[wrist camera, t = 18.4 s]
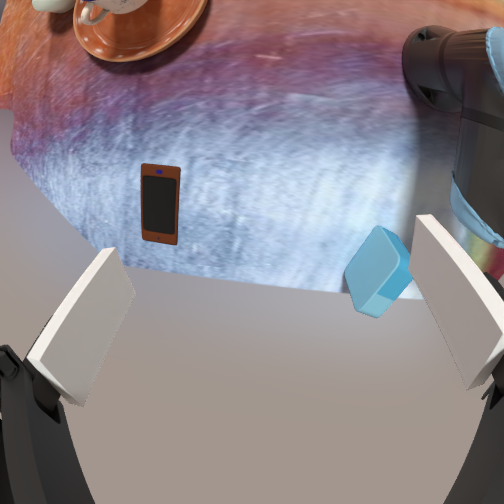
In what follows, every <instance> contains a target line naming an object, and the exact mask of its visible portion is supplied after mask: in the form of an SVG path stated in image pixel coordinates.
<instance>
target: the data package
mask: <svg viewBox="0 0 504 504" xmlns="http://www.w3.org/2000/svg"><path fill="white" fill-rule="evenodd" d="M409 261H410V254H409V252H408V250H407V249H406V247H405V246H404V244H403V243H402V242H401V240H400V239H399V237H398V236H397V235H396V234H394V233H392V232H391V231H389V230H387V229H385V228H383V227H382V226H376V227H375V228H374V229H373V230H372V232H371V233H370V235H369V236H368V238H367V239H366V241H365V242H364V243H363V245H362V246H361V248H360V249H359V251H358V252H357V253H356V255H355V256H354V258H353V259H352V260H351V262H350V263H349V264H348V266H347V268H346V270H345V278H346V282H347V285H348V288H349V291H350V295H351V298H352V301H353V304H354V308H355V310H356V311H358V312H360V313H363V314H366V315H369V316H371V317H374V318H379V317H380V316H381V315H382V314H383V313H384V312H385V311H386V310H387V309H388V308H389V306H390V305H391V304H392V303H393V302H394V301H395V300H396V298H397V297H398V296H399V295H400V294H401V293H402V291H403V290H404V289H405V288H406V287H407V285H408V284H409V283H410V282H411V281H412V279H413V277H412V275H411V274H410V272H409V270H408V267H409Z"/></svg>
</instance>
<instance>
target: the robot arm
mask: <svg viewBox="0 0 504 504" xmlns="http://www.w3.org/2000/svg"><path fill="white" fill-rule="evenodd" d="M402 63H403V69H404V73H405V76H406V78H407V81H408V83H409V85H410V87H411V88H412V90H413V91H414V93H415V94H416V95H417V96H418V97H419V98H420V99H421V100H422V101H423V102H424V103H426V104H427V105H429V106H430V107H432V108H434V109H437V110H441V111H444V112H451V113H453V112H460V111H461V119H460V129H459V137H458V145H457V152H456V158H455V164H454V170H453V171H452V175H451V178H452V185H451V192H450V204H451V206H452V209H453V212H454V214H455V215H456V217H457V218H458V219H459V221H460V222H461V223H462V224H463V225H464V226H465V227H466V228H467V229H468V230H470V231H471V232H472V233H473V234H475V235H476V236H477V237H479V238H480V239H482V240H484V241H485V242H487V243H489V244H491V243H493V244H494V245H495V246H496V247H499V248H504V28H500V27H492V28H488V29H478V30H469V31H461V32H457V31H454V30H452V29H449V28H446V27H442V26H435V25H432V26H426V27H422V28H419V29H417V30H415V31H413V32H412V33H411V34H410V35H409V36H408V38H407V40H406V41H405V44H404V47H403V52H402ZM408 270H409V272H410V274H411V275H412V277H413V279H414V281H415V282H416V284H417V286H418V288H419V290H420V291H421V293H422V295H423V297H424V299H425V301H426V303H427V304H428V306H429V308H430V310H431V312H432V314H433V316H434V318H435V320H436V322H437V324H438V326H439V328H440V330H441V332H442V334H443V336H444V338H445V340H446V343H447V345H448V347H449V349H450V352H451V354H452V356H453V358H454V361H455V363H456V365H457V368H458V370H459V373H460V374H461V377H462V380H463V382H464V385H465V388H466V390H469V389H472V388H475V387H477V386H480V385H482V384H484V383H485V381H486V380H487V379H488V377H489V376H490V375H491V374H492V376H493V378H494V382H493V383H492V384H491V385H490V387H489V388H488V389H487V390H486V392H485V393H484V394H483V396H482V398H481V399H482V400H483V399H485V397H486V396H487V395H488V394H489V395H488V398H487V402H486V405H485V409H484V412H483V415H482V418H481V421H480V424H479V427H478V429H477V432H476V435H475V438H474V440H473V443H472V445H471V448H470V450H469V453H468V455H467V457H466V460H465V462H464V464H463V466H462V469H461V471H460V473H459V475H458V477H457V479H456V481H455V483H454V485H453V487H452V489H451V491H450V492H449V494H448V496H447V498H446V500H445V502H444V503H443V504H504V288H503V287H502V286H501V284H500V283H499V282H498V281H497V280H496V279H495V278H494V277H492V276H491V275H490V274H488V273H487V272H485V273H482V272H481V271H480V269H479V268H478V267H477V266H476V264H475V263H474V262H473V261H472V259H471V258H470V257H469V256H468V255H467V253H466V252H465V251H464V250H463V249H462V248H461V246H460V245H459V244H458V243H457V242H456V241H455V240H454V238H453V237H452V236H451V235H450V234H449V233H448V232H447V231H446V230H445V229H444V227H443V226H442V225H441V224H440V223H439V222H438V221H437V220H436V219H435V218H434V217H433V216H432V215H431V214H428V215H416V219H415V228H414V235H413V242H412V249H411V255H410V261H409V267H408ZM135 295H136V293H135V291H134V288H133V286H132V284H131V282H130V280H129V277H128V275H127V273H126V271H125V268H124V266H123V264H122V261H121V259H120V257H119V254H118V252H117V250H116V247H114V248H106V249H102V251H101V252H100V253H99V254H98V256H97V257H96V258H95V259H94V261H93V262H92V263H91V264H90V266H89V267H88V268H87V270H86V271H85V272H84V273H83V275H82V276H81V277H80V279H79V280H78V281H77V283H76V284H75V285H74V287H73V288H72V289H71V291H70V292H69V294H68V295H67V297H66V298H65V299H64V301H63V302H62V304H61V305H60V306H59V308H58V309H57V311H56V312H55V314H54V315H53V316H52V317H51V318H50V319H49V320H48V322H47V323H46V325H45V326H44V327H45V328H43V330H42V331H41V333H40V336H38V337H37V339H36V340H35V342H34V344H33V345H32V347H31V349H30V350H29V352H28V353H27V355H26V357H25V359H24V360H23V362H22V361H21V360H20V358H19V357H18V356H17V355H16V354H15V353H14V351H13V350H12V349H11V348H10V346H9V345H2V346H0V412H1V414H2V420H1V419H0V504H95V502H94V500H93V498H92V495H91V493H90V490H89V488H88V485H87V483H86V481H85V478H84V475H83V472H82V470H81V467H80V464H79V461H78V458H77V455H76V452H75V449H74V446H73V442H72V439H71V435H70V432H69V428H68V424H67V420H66V416H65V412H64V408H63V405H62V403H61V402H60V401H59V398H60V395H62V396H63V397H64V398H65V399H66V400H67V401H68V402H69V403H70V404H74V405H78V406H82V407H83V406H84V404H85V402H86V399H87V397H88V395H89V392H90V390H91V387H92V385H93V383H94V380H95V378H96V376H97V373H98V371H99V369H100V367H101V365H102V362H103V360H104V358H105V356H106V354H107V352H108V349H109V347H110V345H111V343H112V341H113V339H114V337H115V335H116V333H117V330H118V329H119V327H120V325H121V323H122V321H123V319H124V316H125V315H126V313H127V311H128V309H129V307H130V305H131V303H132V301H133V299H134V297H135Z"/></svg>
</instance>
